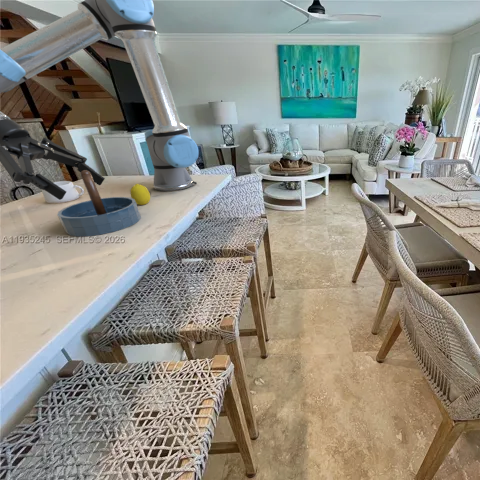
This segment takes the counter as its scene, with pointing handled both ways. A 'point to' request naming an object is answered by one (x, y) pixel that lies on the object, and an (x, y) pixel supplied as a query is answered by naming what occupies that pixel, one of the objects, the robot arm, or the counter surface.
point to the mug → (69, 196)
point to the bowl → (99, 217)
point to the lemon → (140, 194)
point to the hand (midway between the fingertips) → (84, 188)
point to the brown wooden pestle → (93, 192)
